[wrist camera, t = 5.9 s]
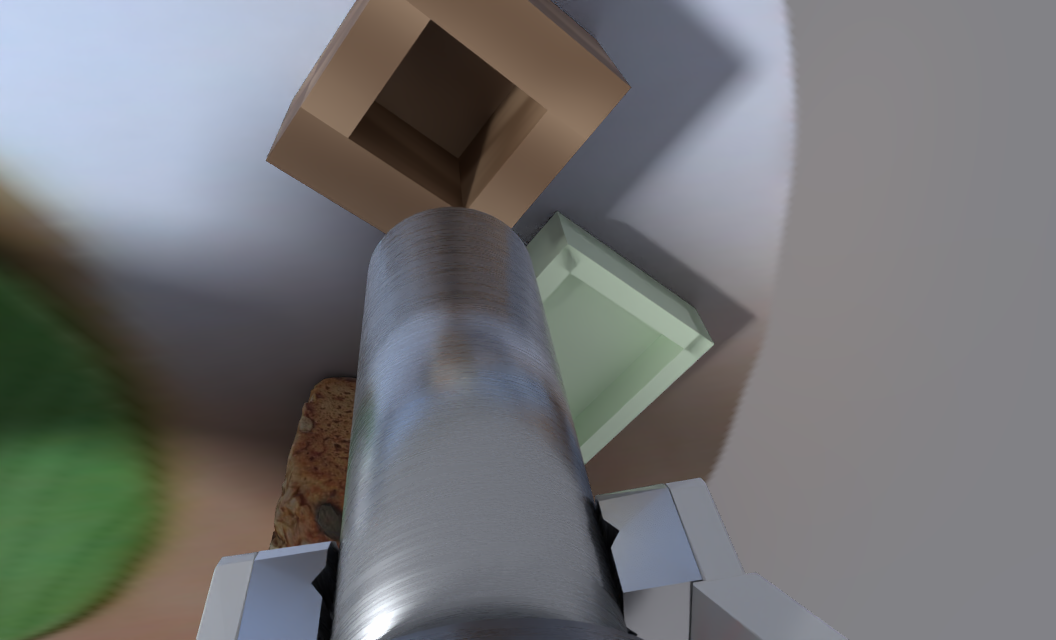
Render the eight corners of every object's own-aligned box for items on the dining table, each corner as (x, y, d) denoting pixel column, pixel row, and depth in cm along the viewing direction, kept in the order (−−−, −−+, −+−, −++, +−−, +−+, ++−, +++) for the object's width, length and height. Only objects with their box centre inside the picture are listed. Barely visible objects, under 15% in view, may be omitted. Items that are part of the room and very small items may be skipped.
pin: (473, 401, 18) (529, 973, 9) (295, 305, 16) (145, 924, 7) (604, 259, 17) (833, 797, 8) (424, 132, 15) (439, 664, 5)
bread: (307, 359, 36) (272, 523, 28) (517, 399, 39) (541, 558, 31) (254, 598, 46) (216, 772, 37) (426, 616, 49) (426, 781, 40)
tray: (564, 434, 41) (573, 475, 38) (426, 360, 37) (426, 400, 35) (695, 308, 37) (714, 344, 35) (557, 210, 33) (567, 243, 31)
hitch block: (459, 210, 33) (465, 282, 28) (292, 100, 29) (265, 160, 24) (596, 40, 29) (631, 87, 24) (425, -107, 26) (425, -87, 21)
